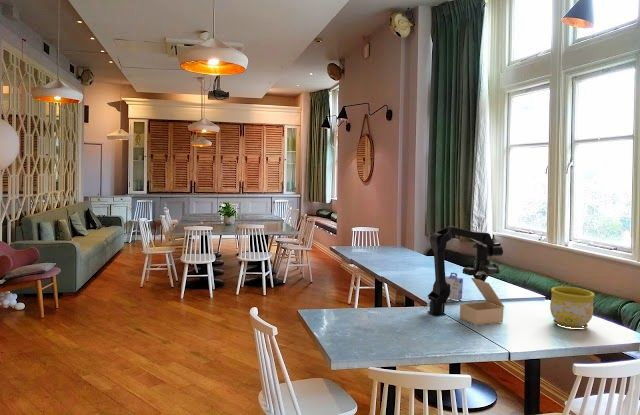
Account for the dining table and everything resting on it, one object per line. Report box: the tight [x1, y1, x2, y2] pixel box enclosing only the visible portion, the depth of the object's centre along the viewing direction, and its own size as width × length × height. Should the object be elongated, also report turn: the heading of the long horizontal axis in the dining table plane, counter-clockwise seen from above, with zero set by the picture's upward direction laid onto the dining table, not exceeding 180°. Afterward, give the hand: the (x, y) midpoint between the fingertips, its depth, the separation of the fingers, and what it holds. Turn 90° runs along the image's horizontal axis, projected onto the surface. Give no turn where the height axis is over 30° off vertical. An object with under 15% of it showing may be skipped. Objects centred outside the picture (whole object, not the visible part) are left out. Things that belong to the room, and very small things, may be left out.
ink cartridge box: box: [445, 272, 464, 300], centre depth 270 cm, size 10×6×14 cm, turn 53°
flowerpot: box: [549, 286, 596, 329], centre depth 229 cm, size 18×18×16 cm
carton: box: [459, 300, 505, 326], centre depth 234 cm, size 16×12×7 cm
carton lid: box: [471, 277, 505, 308], centre depth 235 cm, size 16×12×1 cm
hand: (480, 287), depth 249 cm, fingers closed
